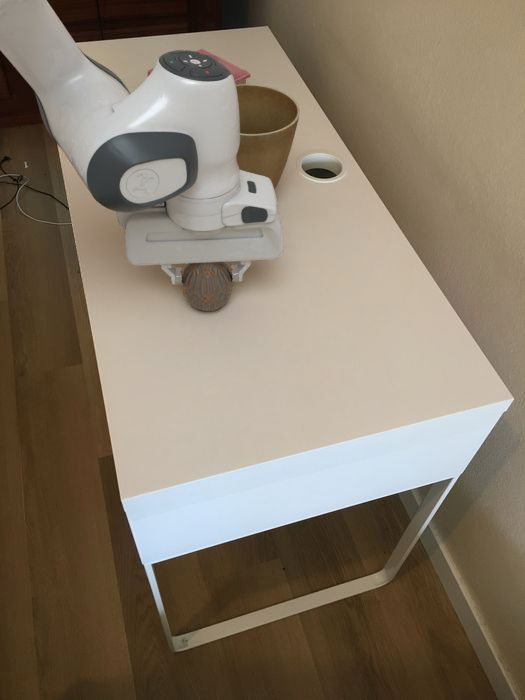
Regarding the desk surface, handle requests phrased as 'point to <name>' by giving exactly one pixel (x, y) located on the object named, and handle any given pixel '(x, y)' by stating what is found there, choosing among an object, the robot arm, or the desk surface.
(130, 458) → the desk surface
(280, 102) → the plant pot
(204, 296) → the vase
